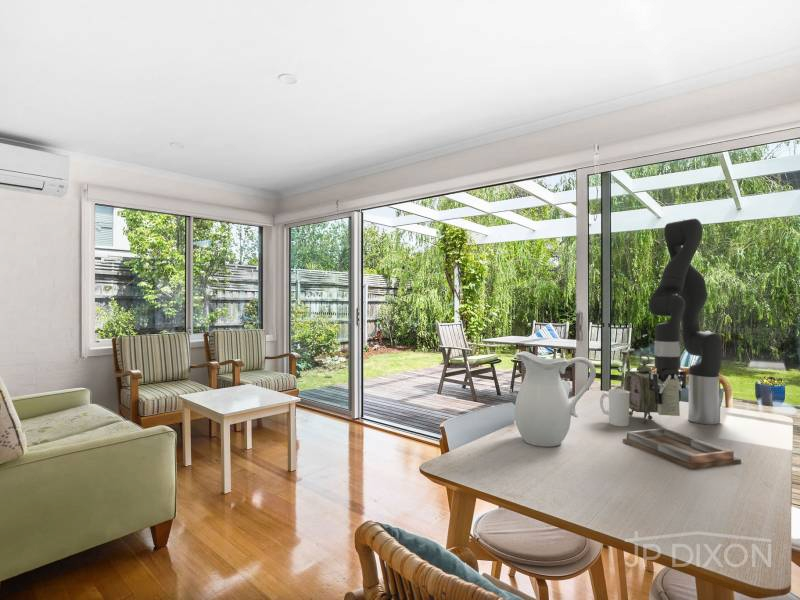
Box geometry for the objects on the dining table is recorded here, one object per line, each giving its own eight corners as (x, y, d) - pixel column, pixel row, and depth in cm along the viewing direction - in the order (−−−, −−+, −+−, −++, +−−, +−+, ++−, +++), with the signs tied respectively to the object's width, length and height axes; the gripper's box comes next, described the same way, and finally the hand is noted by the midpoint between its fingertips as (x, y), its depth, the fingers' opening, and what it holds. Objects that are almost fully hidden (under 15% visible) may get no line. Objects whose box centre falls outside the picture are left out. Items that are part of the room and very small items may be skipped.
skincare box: (677, 413, 154) (677, 377, 154) (680, 416, 150) (679, 380, 150) (656, 411, 157) (656, 376, 157) (657, 415, 153) (657, 378, 153)
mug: (631, 424, 164) (632, 391, 163) (625, 428, 159) (626, 393, 159) (603, 418, 170) (603, 387, 170) (596, 422, 166) (596, 389, 166)
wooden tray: (667, 436, 149) (667, 427, 149) (741, 462, 126) (741, 452, 126) (622, 441, 144) (622, 432, 144) (691, 469, 121) (691, 458, 121)
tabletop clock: (623, 414, 177) (624, 350, 177) (647, 414, 177) (648, 350, 177) (641, 424, 163) (642, 355, 163) (667, 425, 163) (668, 355, 162)
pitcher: (509, 445, 139) (510, 355, 139) (519, 430, 155) (520, 349, 154) (593, 457, 129) (594, 360, 129) (596, 440, 144) (596, 353, 144)
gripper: (673, 351, 159) (674, 398, 159) (641, 354, 154) (642, 402, 155) (693, 354, 152) (693, 403, 152) (660, 357, 147) (660, 407, 148)
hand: (667, 402), depth 153 cm, fingers closed on skincare box, 7 cm apart
